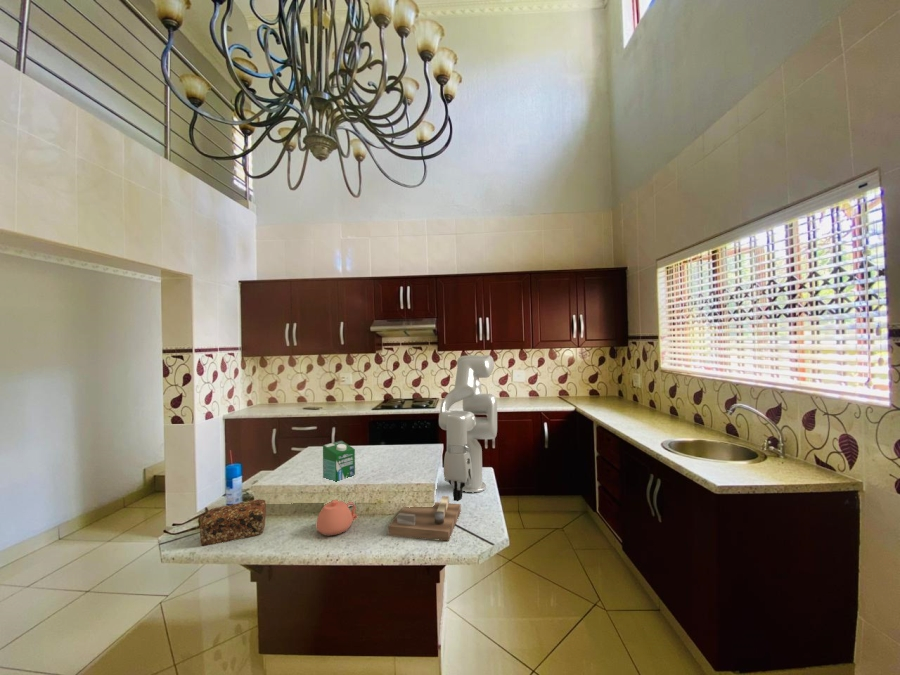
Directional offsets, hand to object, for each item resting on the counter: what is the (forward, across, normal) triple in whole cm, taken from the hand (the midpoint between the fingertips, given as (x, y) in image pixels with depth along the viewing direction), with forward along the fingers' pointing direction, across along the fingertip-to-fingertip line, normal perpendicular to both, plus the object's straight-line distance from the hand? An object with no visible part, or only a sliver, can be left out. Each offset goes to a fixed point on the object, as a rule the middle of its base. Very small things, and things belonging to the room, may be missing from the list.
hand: (457, 499), depth 129 cm
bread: (+9, +63, +47) cm, 79 cm away
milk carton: (+8, +48, +13) cm, 51 cm away
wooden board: (+8, +9, +6) cm, 14 cm away
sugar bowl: (+8, +34, +26) cm, 44 cm away
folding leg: (+5, +5, +3) cm, 7 cm away
